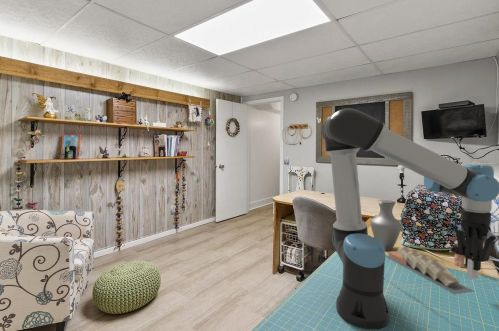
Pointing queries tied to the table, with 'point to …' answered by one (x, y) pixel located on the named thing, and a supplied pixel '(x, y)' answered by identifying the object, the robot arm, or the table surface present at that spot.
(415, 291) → the table surface
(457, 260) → the grandmother figurine
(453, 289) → the domino board
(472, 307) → the table surface
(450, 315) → the table surface
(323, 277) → the table surface
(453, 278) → the domino
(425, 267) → the domino
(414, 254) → the domino
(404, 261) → the domino
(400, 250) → the domino
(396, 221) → the vase
